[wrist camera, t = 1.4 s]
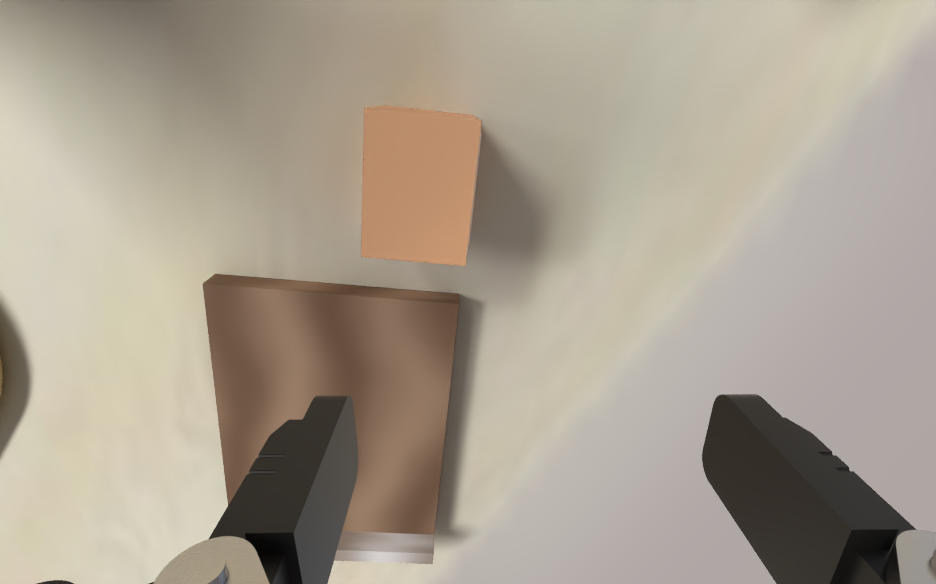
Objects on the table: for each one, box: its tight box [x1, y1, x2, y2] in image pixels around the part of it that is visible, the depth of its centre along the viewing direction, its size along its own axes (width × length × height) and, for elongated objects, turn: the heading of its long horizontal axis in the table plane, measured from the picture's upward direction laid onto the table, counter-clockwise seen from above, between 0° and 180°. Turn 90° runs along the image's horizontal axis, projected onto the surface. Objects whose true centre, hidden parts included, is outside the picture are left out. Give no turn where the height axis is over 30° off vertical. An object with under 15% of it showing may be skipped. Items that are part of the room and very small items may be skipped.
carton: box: [361, 106, 482, 266], centre depth 22 cm, size 5×6×6 cm
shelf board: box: [203, 274, 459, 564], centre depth 30 cm, size 14×19×3 cm
